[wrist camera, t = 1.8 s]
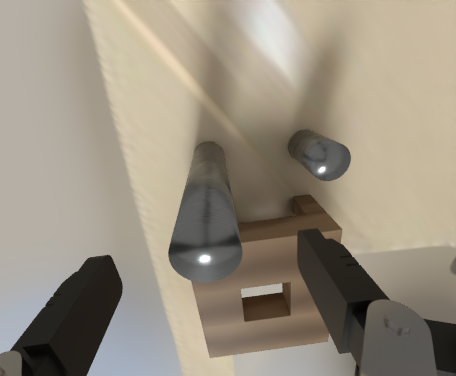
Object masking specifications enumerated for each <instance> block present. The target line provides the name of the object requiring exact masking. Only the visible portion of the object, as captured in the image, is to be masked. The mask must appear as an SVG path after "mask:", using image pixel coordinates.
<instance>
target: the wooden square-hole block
mask: <svg viewBox="0 0 456 376" xmlns="http://www.w3.org/2000/svg"><path fill="white" fill-rule="evenodd" d="M293 212H294V214H295V215H296V216H293V217H286V218H278V219H270V220H263V221H255V222H247V223H239V224H238V229H239V234H240V240H241V245H242V250H243V255H242V260H241V262H240V264H239V266H238V268H237V269H236V270H235V271H234V272H233V273H232V274H230V275H229V276H227V277H225V278H223V279H221V280H218V281H214V282H196V281H192V280H191V281H192V286H193V290H194V294H195V298H196V302H197V306H198V311H199V315H200V319H201V323H202V327H203V331H204V335H205V340H206V344H207V348H208V352H209V356H210V358H214V357H221V356H228V355H235V354H243V353H250V352H257V351H264V350H271V349H278V348H284V347H292V346H300V345H306V344H314V343H321V342H328V337H329V331H328V329H327V327H326V325H325V323H324V321H323V319H322V317H321V315H320V313H319V311H318V309H317V306H316V304H315V302H314V300H313V298H312V296H311V294H310V292H309V290H308V288H307V286H306V284H305V282H304V280H303V278H302V276H301V274H300V271H299V268H298V263H297V234H298V231H299V230H304V229H312V228H317V229H318V230H319V231H320V232H321V233H322V235H323V236H324V237H325V238H326V239H330V238H332V239H334V240H336V241H337V242H339V243H341V235H342V229H341V228H340V227H339V226H338V224H337V223H336V222H335V221H334V220H333V219H332V218H331V217H330V216H329V215H328V214H327V212H326V211H325V210H324V209H323V208H322V207H321V206H320V205H319V204H318V203H317V202H316V201H315V199H314V198H313V197H312V196H311V195H304V196H296V197H293ZM279 283H282V284H283V287H282V288H283V292H282V293H274V294H267V295H260V296H252V297H245V298H242V297H241V289H242V288H249V287H257V286H264V285H271V284H279Z"/></svg>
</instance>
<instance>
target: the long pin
mask: <svg viewBox="0 0 456 376" xmlns="http://www.w3.org/2000/svg"><path fill="white" fill-rule="evenodd" d="M168 253H169V261H170V263H171V265H172V267H173V268H174V270H175V271H176V272H177V273H178V274H180V275H181V276H183V277H185V278H187V279H189V280H192V281H196V282H214V281H218V280H221V279H223V278H225V277H227V276H229V275H230V274H232V273H233V272H234V271H235V270H236V269H237V268H238V266H239V264H240V262H241V260H242V255H243V250H242V245H241V240H240V234H239V229H238V224H237V219H236V213H235V208H234V203H233V198H232V193H231V187H230V182H229V177H228V172H227V166H226V161H225V156H224V152H223V150H222V148H221V147H220V146H219V145H218V144H216V143H214V142H204V143H202V144H200V145H199V146H198V147H197V148H196V149H195V152H194V155H193V159H192V163H191V167H190V171H189V174H188V178H187V182H186V186H185V190H184V193H183V197H182V201H181V205H180V209H179V212H178V216H177V220H176V224H175V228H174V231H173V235H172V239H171V243H170V247H169V252H168Z"/></svg>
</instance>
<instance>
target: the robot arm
mask: <svg viewBox="0 0 456 376" xmlns="http://www.w3.org/2000/svg"><path fill="white" fill-rule="evenodd" d="M297 263H298V268H299V271H300V274H301V276H302V278H303V280H304V282H305V284H306V286H307V288H308V290H309V292H310V294H311V296H312V298H313V300H314V302H315V304H316V306H317V309H318V311H319V313H320V315H321V317H322V319H323V321H324V323H325V325H326V327H327V329H328V331H329V333H330V335H331V337H332V339H333V341H334V343H335V345H336V348H337V350H338V352H339V353H340V354H342V353H349V352H351V353H352V356H353V357H354V359H355V361H356V367H355V375H354V376H456V324H451V323H445V322H439V321H432V320H426V319H423V318H422V317H421V316H420V315H419V314H417V313H416V312H415V311H414V310H412V309H410V308H409V307H407V306H405V305H403V304H401V303H399V302H396V301H392V300H390V299H389V298H388V297H387V296H386V295H385V294H384V292H383V291H382V290H381V289H380V288H379V286H378V285H377V284H376V283H375V282H374V281H373V279H372V278H371V277H370V276H369V275H368V274H367V272H366V271H365V270H364V269H363V268H362V266H361V265H359V263H358V262H357V261H356V260H355V258H354V257H352V255H351V254H350V252H349V251H348V250H347V249H346V248H345V247H344V245H342V244H340V243H339V242H337V241H336V240H334V239H332V238H330V239H326V238H325V237H324V236H323V235H322V233H321V232H320V231H319V230H318V229H317V228H312V229H304V230H299V231H298V234H297ZM122 287H123V286H122V281H121V278H120V277H119V274H118V271H117V269H116V266H115V264H114V262H113V259H112V257H111V256H110V255H105V256H97V257H90V258H88V259H87V260H86V261H85V262H84V264H83V265H82V266H81V268H80V269H79V271H78V272H75V273H74V274H72V276H70V277H69V278H68V279H66V280H65V281H64V282H63V283H62V284H61V286H60V287H59V288H58V289H57V291H56V292H55V293H54V296H53V297H51V298H50V300H49V301H48V302H47V303H46V306H45V307H44V308H43V309H42V310H41V311H40V312H39V314H38V315H37V316H36V318H35V319H34V320H33V321H32V323H31V324H30V325H29V327H28V328H27V329H26V331H25V332H24V333H23V334H22V336H21V337H20V338H19V340H18V341H17V342H16V343H15V345H14V346H13V347H12V349H11V350H10V351H8V352H4V353H1V354H0V376H86V375H87V373H88V371H89V369H90V366H91V364H92V362H93V360H94V358H95V355H96V353H97V350H98V348H99V346H100V344H101V342H102V339H103V337H104V335H105V332H106V330H107V328H108V326H109V323H110V321H111V318H112V316H113V314H114V312H115V310H116V307H117V305H118V303H119V301H120V298H121V295H122V289H123V288H122Z"/></svg>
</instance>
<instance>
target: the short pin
mask: <svg viewBox="0 0 456 376" xmlns="http://www.w3.org/2000/svg"><path fill="white" fill-rule="evenodd" d="M288 149H289V153H290V154H291V156H292V157H293V158H295V159H296V160H297V161H298V162H299V163H300V164H302V165H303V166H304V167H305V168H306V169H307V170H309V171H310V172H311V173H312V174H313V175H314V176H316V177H317V178H318V179H320V180H323V181H331V180H335V179H337V178H339V177H340V176H342V175H343V174H344V173H345V172H346V170H347V169H348V167H349V165H350V161H351V155H350V152H349V150H348V148H347V147H346V146H344V145H342V144H340V143H338V142H336V141H333V140H331V139H329V138H326V137H324V136H322V135H320V134H317V133H315V132H313V131H310V130H301V131H298V132H297V133H295V134H294V135H293V136H292V138H291V139H290V141H289V145H288Z"/></svg>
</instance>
